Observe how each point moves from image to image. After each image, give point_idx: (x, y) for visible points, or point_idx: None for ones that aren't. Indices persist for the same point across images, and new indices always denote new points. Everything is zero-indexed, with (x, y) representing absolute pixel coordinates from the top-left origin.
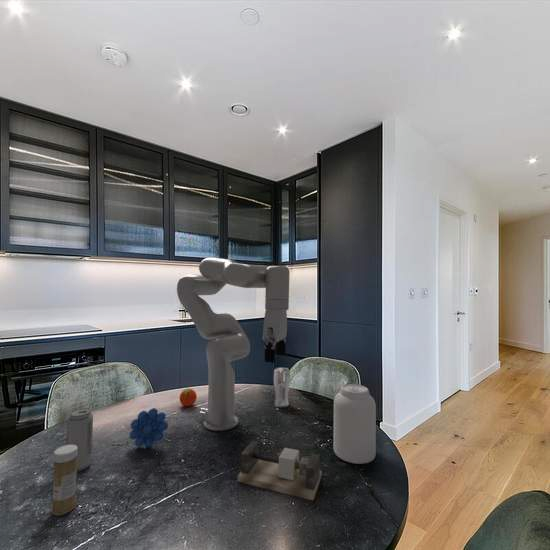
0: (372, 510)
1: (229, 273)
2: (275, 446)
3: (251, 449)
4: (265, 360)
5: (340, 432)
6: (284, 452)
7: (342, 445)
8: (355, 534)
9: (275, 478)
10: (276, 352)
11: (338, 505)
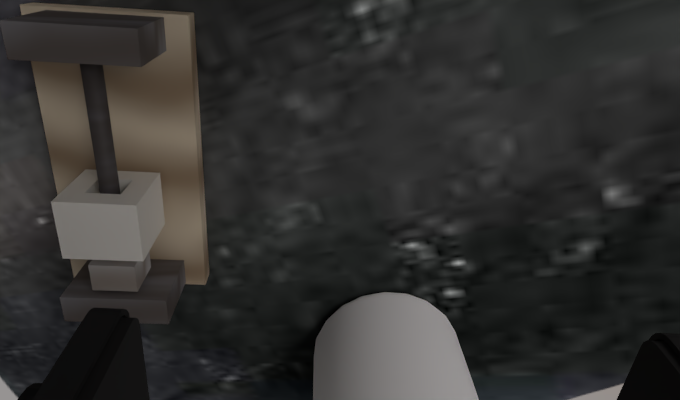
0: None
1: None
2: (347, 71)
3: (58, 57)
4: (90, 327)
5: (330, 383)
6: (97, 213)
7: (324, 355)
8: (23, 365)
9: (85, 155)
10: (669, 368)
11: None
